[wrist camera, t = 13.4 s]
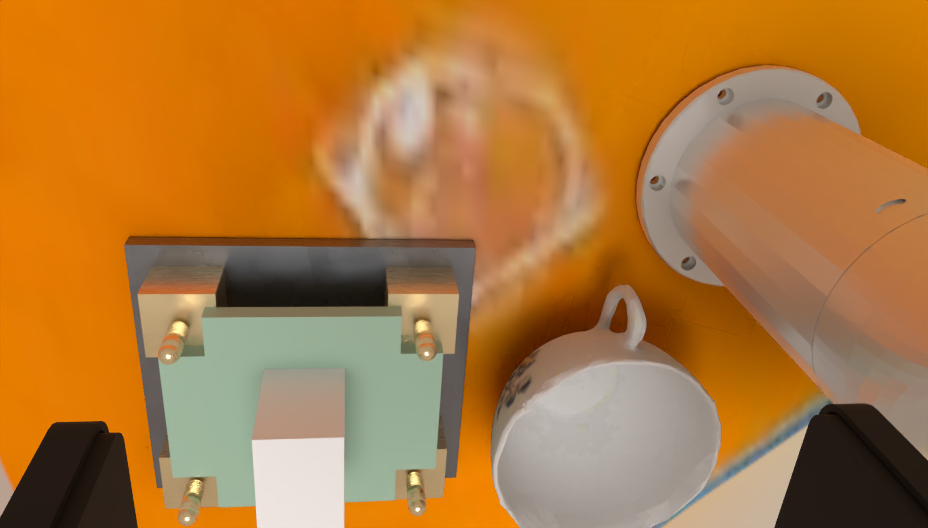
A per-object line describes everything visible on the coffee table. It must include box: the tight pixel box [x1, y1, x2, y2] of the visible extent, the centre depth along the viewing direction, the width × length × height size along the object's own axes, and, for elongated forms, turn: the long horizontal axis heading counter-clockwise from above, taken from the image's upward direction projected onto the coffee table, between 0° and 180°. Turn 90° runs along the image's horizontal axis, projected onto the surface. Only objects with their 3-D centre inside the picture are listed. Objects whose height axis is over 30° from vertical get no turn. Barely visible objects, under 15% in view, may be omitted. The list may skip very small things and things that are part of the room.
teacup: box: [491, 285, 721, 528], centre depth 44 cm, size 15×12×8 cm
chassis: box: [124, 237, 476, 526], centre depth 42 cm, size 18×16×7 cm
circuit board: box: [158, 307, 443, 528], centre depth 38 cm, size 14×12×6 cm
